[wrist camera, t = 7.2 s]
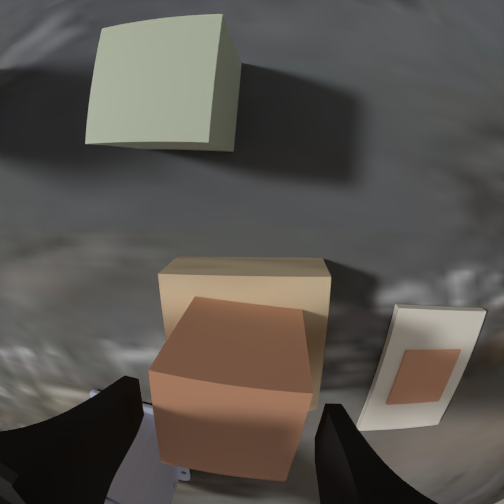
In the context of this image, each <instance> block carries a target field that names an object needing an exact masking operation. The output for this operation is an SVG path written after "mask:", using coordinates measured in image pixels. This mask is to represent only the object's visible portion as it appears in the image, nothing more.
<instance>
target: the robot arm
mask: <svg viewBox="0 0 504 504" xmlns="http://www.w3.org/2000/svg"><path fill="white" fill-rule="evenodd" d="M89 395H90V399H88V400H87V401H85V402H83V403H81V404H79V405H78V406H76V407H74V408H72V409H70V410H69V411H67V412H64V413H62V414H60V415H58V416H56V417H53V418H51V419H48V420H46V421H43V422H40V423H37V424H33V425H30V426H27V427H23V428H18V429H14V430H8V431H1V432H0V504H171V501H172V498H173V495H174V492H175V489H176V486H177V483H178V480H184V481H189V480H190V477H191V475H190V469H188V468H184V467H179V466H175V465H170V464H166V463H162V462H161V459H160V453H159V447H158V441H157V435H156V428H155V421H154V414H153V406H152V405H148V404H144V403H142V398H141V392H140V385H139V379H137V378H133V377H128V376H124V377H122V378H120V379H119V380H117V381H116V382H114V383H113V384H111V385H110V386H108V387H107V388H105V389H104V390H102V391H101V392H100V391H97V390H92V391H91V392H90V393H89ZM315 465H316V473H317V480H318V488H319V495H320V503H321V504H438V503H436V502H434V501H432V500H431V499H429V498H427V497H426V496H424V495H423V494H421V493H420V492H418V491H417V490H415V489H414V488H413V487H411V486H410V485H409V484H407V483H406V482H405V481H403V480H402V479H401V478H400V477H399V476H398V475H396V474H395V473H394V472H393V471H392V470H391V469H390V468H389V467H388V466H387V465H386V464H385V463H384V462H383V460H382V459H381V458H380V457H379V456H378V455H377V454H376V452H375V451H374V450H373V449H372V448H371V446H370V445H369V444H368V442H367V441H366V440H365V438H364V437H363V436H362V434H361V433H360V432H359V430H358V429H357V427H356V426H355V424H354V423H353V421H352V420H351V418H350V417H349V415H348V413H347V412H346V410H345V409H344V407H343V406H342V404H326V403H325V407H324V410H323V413H322V417H321V420H320V423H319V427H318V430H317V433H316V436H315Z"/></svg>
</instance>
